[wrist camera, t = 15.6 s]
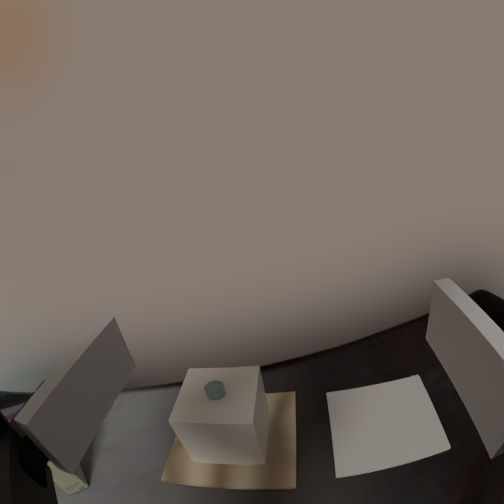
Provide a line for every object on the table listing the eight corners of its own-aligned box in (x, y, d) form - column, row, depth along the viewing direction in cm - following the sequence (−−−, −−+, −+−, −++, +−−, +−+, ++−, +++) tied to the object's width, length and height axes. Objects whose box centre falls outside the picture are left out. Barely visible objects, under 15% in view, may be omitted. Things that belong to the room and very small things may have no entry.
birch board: (295, 393, 44) (295, 391, 43) (296, 488, 27) (295, 486, 27) (191, 397, 46) (190, 394, 46) (162, 481, 29) (160, 479, 29)
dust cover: (269, 411, 40) (257, 359, 37) (265, 464, 31) (250, 417, 27) (207, 412, 42) (186, 362, 38) (193, 461, 32) (164, 414, 29)
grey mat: (418, 376, 40) (418, 374, 40) (449, 449, 25) (450, 447, 25) (326, 394, 42) (326, 392, 42) (335, 478, 27) (336, 476, 27)
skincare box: (90, 487, 27) (42, 439, 23) (69, 496, 24) (18, 449, 20) (79, 460, 31) (37, 410, 28) (59, 468, 29) (15, 420, 25)
